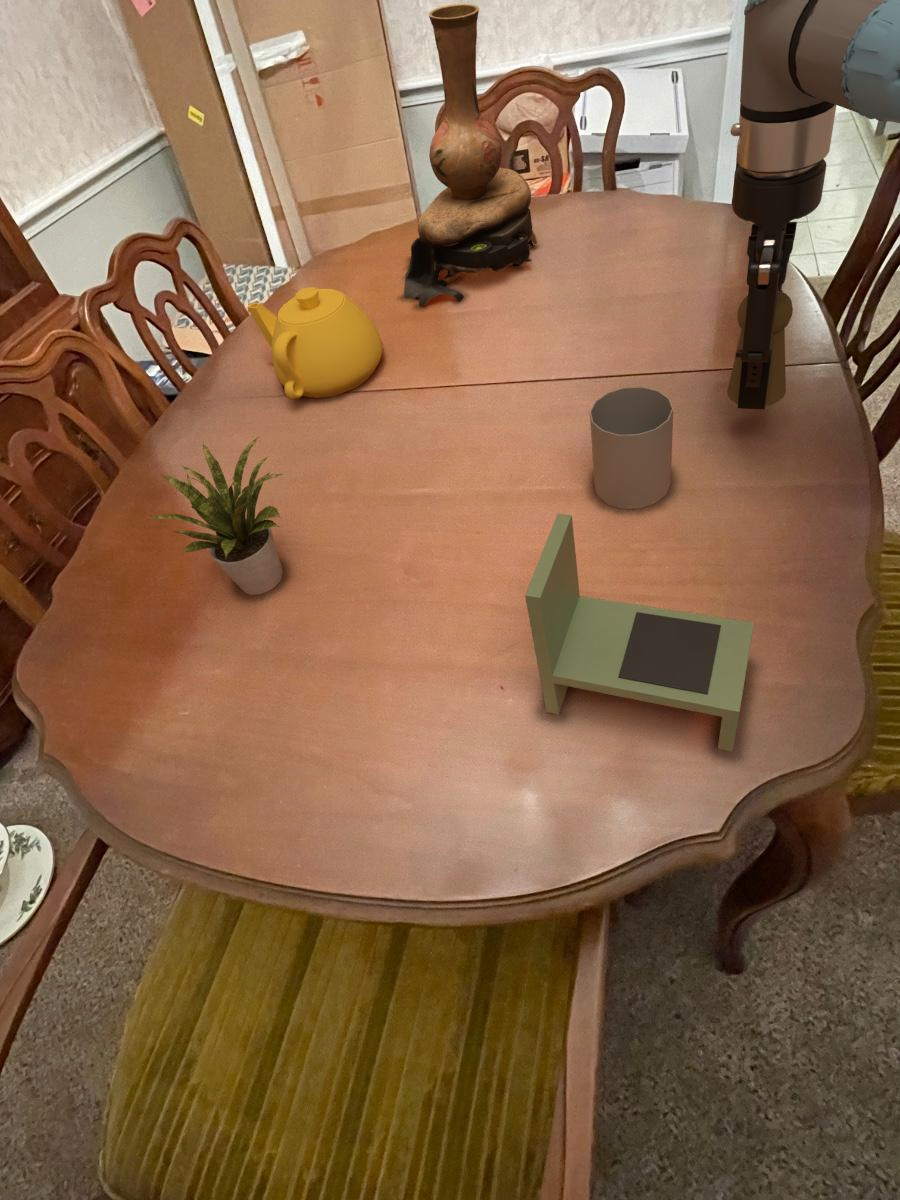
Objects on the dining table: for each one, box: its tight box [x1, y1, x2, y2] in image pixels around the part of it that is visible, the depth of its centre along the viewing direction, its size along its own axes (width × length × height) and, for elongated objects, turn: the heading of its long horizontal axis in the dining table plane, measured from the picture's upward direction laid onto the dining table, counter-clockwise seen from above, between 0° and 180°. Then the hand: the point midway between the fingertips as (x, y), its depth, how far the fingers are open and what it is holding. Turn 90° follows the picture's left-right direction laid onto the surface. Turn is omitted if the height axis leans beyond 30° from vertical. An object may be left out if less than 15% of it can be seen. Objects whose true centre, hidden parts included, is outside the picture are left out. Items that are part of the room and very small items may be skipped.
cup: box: [589, 386, 674, 510], centre depth 82 cm, size 8×8×10 cm
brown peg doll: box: [726, 291, 794, 407], centre depth 79 cm, size 6×6×11 cm
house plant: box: [147, 435, 285, 596], centre depth 81 cm, size 14×14×16 cm
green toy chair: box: [524, 513, 755, 753], centre depth 62 cm, size 16×9×16 cm, turn 69°
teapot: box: [246, 286, 384, 400], centre depth 110 cm, size 20×19×13 cm
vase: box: [403, 3, 538, 308], centre depth 116 cm, size 24×22×35 cm
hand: (755, 388), depth 83 cm, fingers closed on brown peg doll, 6 cm apart
